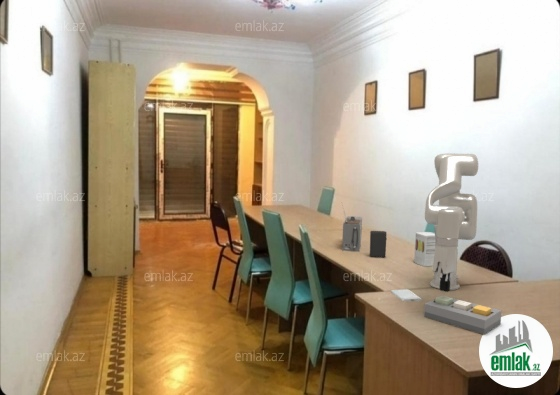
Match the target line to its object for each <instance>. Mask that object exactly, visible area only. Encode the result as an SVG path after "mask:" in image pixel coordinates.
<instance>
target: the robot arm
mask: <svg viewBox="0 0 560 395" xmlns="http://www.w3.org/2000/svg"><path fill="white" fill-rule="evenodd" d="M433 164H434V169H435V172H436V175H437V178H438V184H437V186H435V187H434V188H433V189H432V190H431V191H430V192H429V194H428V195H427V197H426V200H425V205H424V206H425V208H424V209H425V210H424V219H425V221H426V223H427V224H429V225H433V226H434V229H433V230H434V234H435V255H434V263H433V266H432V269H433V270H432V271H433V279H432V280H431V281H430V282H429V285H430V286H431V287H432V288H435V289H438V290H439V291H441V292H445V293H448V292H450V291H455V290H459V289H460V284H459V283H458V282H457V280H458V279H459V278H460V276H459V275H458V274H457V269H458V253H459V252H458V248H459V240H463V241H464V240H465V241H472V240H474V239H475V238H476V235H477V226H478V225H477V221H478V200H477V197H476V196H475V195H474V194H473V193H461V192H460V190H461V189H462V176H463V177H474V176H476V175H477V174H478V170H479V160H478V157H477V156H476V154H473V153H440V154H437V155H436V156H435V157H434V163H433ZM437 201H438V204H436V205H435V203H436V202H437Z"/></svg>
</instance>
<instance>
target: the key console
mask: <svg viewBox="0 0 560 395" xmlns="http://www.w3.org/2000/svg"><path fill="white" fill-rule="evenodd" d="M444 296H445V295H444ZM445 297H447V296H445ZM448 297H449V298H451V297H450V296H448ZM452 298H453V304H454V302H456V301H458V300H459V299H458V298H454V297H452ZM460 300H461V301H463V300H462V299H460ZM464 301H465V300H464ZM465 302H467V301H465ZM468 302H469V301H468ZM469 303H472V306H471V309H470V310H468V311H464V310H461V309H457V308H453V304H451V305H449V306H446V305H442V304H438V303H435V298H434V299H432V300H430V301H428V302H426V303H424V310H423V311H424V312H423V316H424V318H427V317H428V318H427V319H430V318H431V319H430V320H433V319H434V321H436V322H440V323H443V322H444V324H447V325H451V326H453V325H454V327H458V328H460V329H463V328H464V330H467V329H468V330H467V331H470V330H471V332H473V331H474V333H477V334H481V335H484V336H485V335H486V334H488V333H489V332H491V331H492V330H494V329H495V328H497V327H498V326H500V325H501V323H502V322H501V321H502V310H501V309H497V308H494V307H489V306H488V307H489V308H491V315H489V316H483V315H479V314H475V313H473V307H475V306H477V305H479V304H477V303H473V302H469ZM481 306H483V305H481ZM484 306H485V305H484ZM485 307H487V306H485Z"/></svg>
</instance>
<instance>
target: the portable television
mask: <svg viewBox="0 0 560 395" xmlns="http://www.w3.org/2000/svg"><path fill="white" fill-rule="evenodd" d="M341 205H342V210H343V215H344V218H345V219H344V222H343V223H342V251H345V252H360V251H361V246H362V245H361V244H362V229H363V227H362V226H363V218H362V216H346V212H345V209H344V206H343V203H341Z"/></svg>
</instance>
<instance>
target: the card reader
mask: <svg viewBox="0 0 560 395" xmlns="http://www.w3.org/2000/svg"><path fill="white" fill-rule="evenodd" d="M369 233H370V234H369V239H370V240H369V257H372V258H382V259H383V258H386V253H387V252H386V250H387V240H388V239H387V231H384V230H370V232H369Z"/></svg>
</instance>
